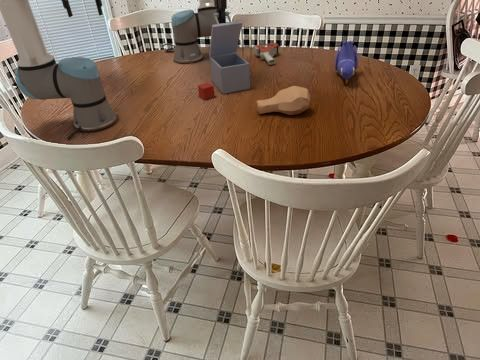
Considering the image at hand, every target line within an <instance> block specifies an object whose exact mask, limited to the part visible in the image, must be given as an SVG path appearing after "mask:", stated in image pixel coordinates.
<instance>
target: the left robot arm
mask: <svg viewBox="0 0 480 360" xmlns="http://www.w3.org/2000/svg"><path fill="white" fill-rule="evenodd" d="M60 1H61V3H62V6H63V8H64V9H65V10H66V13H67V16H68V18H71V17H73V16H74V15H73V12H72V8H71V5H70V2H69V0H60ZM94 2H95V5H96V9H97V12H98V16H102V15H103V13H104V12H103V9H102V7H103V1H102V0H94ZM0 14H1V17H2V18H3V21H4V24H5V26H6V29H7V30H8V33H9V35H10V38H11V41H12V43H13V45H14V48H15V50H16V52H17V55H18V57H19V59H18V60H17V62H16V65H17V67H16V68H15V70H14V76H15V77H14V80H15V84H16V86H17V87H18V89H19V90H20V92H21V94H23V95H24V96H25V97H26V98H29V99H31V100H41V101H44V100H45V101H47V100H59V99H69V100H70V101H71V104H72V108H73V114H72V117H73V118H72V119H73V125H74V128H75V130H74V131H73V132H72V133H70V134H69V135H68V136H67V137H66V139H67V140H70V139H71V138H72V137H73V136H74V135H75V134H77V133H78V132H84V133H92V132H99V131H102V130H105V129H107V128H110V127H111V126H113V125H115V124H116V122H117V121H118V116H117V113H116V111H115V110H114V108H113V107H112V105H111V103H110V102H109V101H108V99H107V96H106V92H105V89H104V87H103V86H104V85H103V83H102V79H101V73H100V71H99V69H98V66H97V64H96V62H95V61H94V60H92V59H90V58H88V57H84V56H83V57H82V56H70V57H65V58H62V59H60V60H59V61H58V63H57V61H56V59H55V56H54V55H53V54H51V53H49V52H48V51H47V47H46V45H45V42H44V39H43V36H42V34H41V31H40V28H39V26H38V23H37V20H36V18H35V14H34V12H33V9H32V6H31V3H30V1H29V0H0Z"/></svg>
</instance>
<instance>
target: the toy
mask: <svg viewBox="0 0 480 360" xmlns="http://www.w3.org/2000/svg"><path fill="white" fill-rule="evenodd" d="M353 44H354V41H353V40H349V41H347V40H344V41H342V45H339V46H338V48H337V50H336V53H335V56H334V70H335V71H336V72H337V73H338V74H339V75H340V76H341V77H342V79H344V82H345V85H348V82H349V80H350V79H351V78H352V77H353V76H354V75H355V74H356V70H357V69H358V66H359V53H358V49H357V46H356V45H353Z"/></svg>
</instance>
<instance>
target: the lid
mask: <svg viewBox="0 0 480 360" xmlns="http://www.w3.org/2000/svg"><path fill="white" fill-rule="evenodd" d="M225 15H226V18H227V20H228V22H226V23H222V24H219V22H218V19H217V17H219V14H218V13H214V14H213V16H214V18H215V20H216V22H217V24H215V25H212V32H211V36H210V43H209V44H210V45H209V52H208V53H209V54H208V56H209V57H213V56H219V55H225V54H232V53H237V51H238V46H239V41H240V36H241V31H242V28H243V21H242V20H238V21H237V20H236V21H232V19H231V17H230V12H229V11H225Z"/></svg>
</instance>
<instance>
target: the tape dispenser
mask: <svg viewBox="0 0 480 360" xmlns="http://www.w3.org/2000/svg"><path fill="white" fill-rule="evenodd" d="M266 46H267V47H266ZM279 48H280V47H279V44H278V43H277V42H270V43H269V42H268V43H263V44H259V45H253V46H252V50H253V54H254V55H255V56H256V57H259V58H260V61H266V62H267V64H268V66H271V65H275V63H276V59H275V58H274V56H278V55H279Z"/></svg>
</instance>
